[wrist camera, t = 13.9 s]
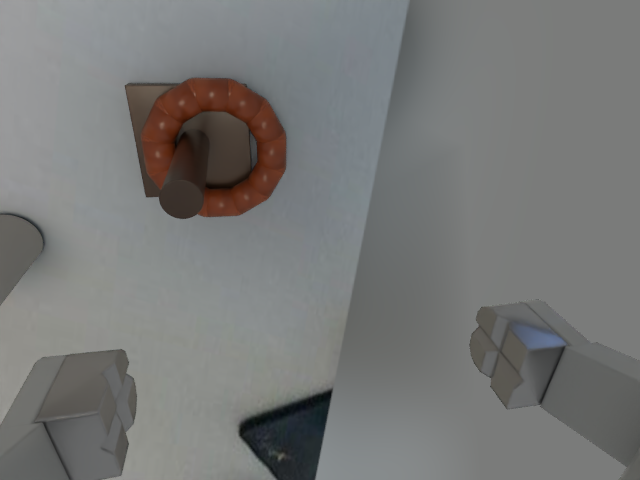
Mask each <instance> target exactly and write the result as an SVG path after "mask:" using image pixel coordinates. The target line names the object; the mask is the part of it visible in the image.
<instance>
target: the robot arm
mask: <svg viewBox="0 0 640 480" xmlns="http://www.w3.org/2000/svg"><path fill="white" fill-rule="evenodd" d="M476 321H477V323H478V324H479V327H478V328H477V329H476V330H475V331H474V332H473V333H472V335H471V340H470V352H471V356H472V359H473V361H474V364H475V365H476V367H477V368H478V370H479V371H480V372H481V373H483V374H485V375H486V376H488V377H490V378H491V386H490V387H491V388H492V389H493V391H494V392H495V393H496V395H497V396H498V398H499V399H500V400H501V402H502V403H503V404H504V406H505V407H506V409H513V408H521V407H528V406H535V405H541V406H540V407H541V408H543V409H544V410H546V411H547V412H548V413H550V414H551V415H553V416H554V417H556V418H557V419H558V420H560V421H561V422H563V423H564V424H566V425H567V426H569V427H570V428H571V429H573V430H574V431H576V432H577V433H579V434H580V435H581V436H583V437H584V438H586V439H587V440H589V441H590V442H592V443H593V444H595V445H596V446H598V447H599V448H600V449H602V450H603V451H605V452H606V453H607V454H609V455H610V456H612V457H613V458H615V459H616V460H618V461H619V462H621V463H622V464H623V465H625V466H626V467H627V468H626V469H625V471H624V472H623V474H622V475H621V477H620V479H619V480H640V361H639V360H637V359H635V358H632V357H630V356H628V355H625V354H623V353H621V352H618V351H616V350H614V349H611V348H609V347H607V346H604V345H601V344H599V343H597V342H596V343H590V342H589V341H588V340H587V339H586V338H585V337H584V336H583V335H581V334H580V333H579V332H578V331H577V330H576V329H575V328H574V327H572V326H571V325H570V324H569V323H568V322H567V321H566V320H565V319H563V318H562V317H561V316H560V315H559V314H558V313H557V312H556V311H554V310H553V309H552V308H551V307H550V306H549V305H548V304H546V302H544V301H541V300H539V299H536V300H529V301H521V302H518V303H517V302H516V303H508V304H500V305H492V306H484V307H481V309H480V310H479V311H478V313H477V316H476ZM128 365H129V361H128V358H127V355H126V352H125V351H124V350H122V349H119V350H108V351H98V352H87V353H77V354H70V355H61V356H51V357H42V358H41V359H40V360H38V361H37V362H36V363H35V364H34V366H33V368H32V370H31V372H30V373H29V375H28V377H27V379H26V380H25V382H24V384H23V386H22V388H21V389H20V391H19V393H18V395H17V396H16V398H15V400H14V402H13V404H12V405H11V407H10V409H9V411H8V412H7V414H6V416H5V418H4V420H3V421H2V423H1V425H0V480H102V479H107V478H112V477H117V476H121V475H122V470H123V466H124V462H125V458H126V454H127V449H128V445H129V443H128V440H127V436H126V433H125V432H126V431H127V430H128V429H129V428H130V427H131V426H132V425H133V424H134V419H135V414H136V404H137V394H136V386H135V382H134V378H133V377H131V376H130V375H128V374H127V373H126V372H127V368H128Z"/></svg>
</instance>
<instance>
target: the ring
mask: <svg viewBox="0 0 640 480" xmlns="http://www.w3.org/2000/svg"><path fill="white" fill-rule="evenodd" d="M201 112H227V113H229V114H230V115H232V116H234V117H236V118H237V119H239V120H241V121H243V122H245V123H246V125H247V126H248V128H249V129H250V131H251V133H252V134H253V136H254V137H255V139H256V141H257V163H256V165H255V167H254V168H253V170H252V172H251V174H250V175H249V177H248V178H247V179H246V180H244V181H242V182H240V183H239V184H237V185H235V186H234V187H232V188H220V189H209V188H207V187H205V195H204V204H203V207H202V209H201V211H200V212H199V213H198V215H200V216H203V217H221V216H238V215H241V214H243V213H245V212H247V211H248V210H250V209H252V208H254V207H255V206H257V205H259V204H260V203H262V202H264V201H266V200H267V199H268V198H269V197H270V196H271V194H272V192H273V191H274V189H275V187H276V186H277V184H278V182H279V181H280V179H281V177H282V175H283V174H284V172H285V170H286V133H285V130H284V128H283V127H282V125H281V123H280V121H279V120H278V118H277V116H276V114H275V113H274V111H273V109H272V107H271V106H270V104H269V102H268V101H267V100H266V99H265V98H263V97H262V96H260V95H258V94H257V93H255V92H253V91H252V90H250V89H249V88H247V87H245V86H244V85H242V84H240V83H239V82H237V81H235V80H233V79H228V78H190V79H188V80H186V81H184V82H183V83H181V84H179V85H178V86H176V87H174V88H173V89H171V90H170V91H168V92H166V93H165V94H163V95H161V96H160V97H158V98H157V99H156V101H155V102H154V105H153V107H152V109H151V111H150V114H149V116H148V118H147V120H146V123H145V125H144V127H143V129H142V132H141V143H142V149H143V155H144V161H145V167H146V171H147V174H148V175H149V177H150V178H151V179H152V180H153V181H154V183H155V184H156V185H157V186H158V188H159V189H160V190H161V188H162V186H163V183H164V180H165V177H166V175H167V172H168V169H169V166H170V164H171V161H172V158H173V155H174V153H175V150H176V149H175V140H176V138H177V136H178V134H179V132H180V130H181V127H182V125H183V123H185V122H186V121H188V120H190V119H191V118H193V117H195V116H196V115H198V114H200V113H201Z"/></svg>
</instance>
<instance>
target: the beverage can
mask: <svg viewBox="0 0 640 480" xmlns="http://www.w3.org/2000/svg"><path fill="white" fill-rule="evenodd" d="M42 249H43V239H42V237H41V235H40V233H39V231H38V230H37V229H36V228H35V227H34V226H33V225H32V224H31V223H29V222H28V221H26V220H24V219H22V218H20V217H16V216H12V215H0V305H1V304H2V303H3V301H4V300H5V299H6V297H7V296H8V295H9V294H10V292H11V291H12V290H13V288H14V287H15V286H16V284H17V283H18V282H19V280H20V279H21V278H22V276H23V275H24V274H25V272H26V271H27V270H28V269H29V267H30V266H31V265H32V263H33V262H34V261H35V260H36V258H37V257H38V256H39V254H40V253H41V252H42Z"/></svg>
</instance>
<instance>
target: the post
mask: <svg viewBox="0 0 640 480" xmlns="http://www.w3.org/2000/svg"><path fill="white" fill-rule="evenodd" d="M178 85H179V84H165V83H128V84H127V85H125V89H126V95H127V100H128V105H129V110H130V116H131V121H132V126H133V131H134V136H135V142H136V147H137V152H138V157H139V163H140V168H141V173H142V178H143V184H144V189H145V194H146V197H159V201H160V204H161V206H162V208H163V209H164V211H165V212H166V213H168V214H169V215H171V216H173V217H175V218H180V219H186V218H191V217H193V216H195V215H196V214H198V213H199V212H200V211H201V209H202V207H203V204H204V195H205V187H207V188H209V189H220V188H232V187H234V186H235V185H237V184H239V183H240V182H242V181H244V180H246V179H247V178H248V177H249V175H250V174H251V154H250V135H249V128H248V126H247V125H246V123H245V122H243V121H241V120H239V119H237V118H236V117H234V116H232V115H230V114H229V113H227V112H201V113H200V114H198V115H196V116H195V117H193V118H191V119H190V120H188V121H186V122H185V123H183V125H182V127H181V130H180V132H179V134H178V136H177V138H176V140H175V149H176V150H175V153H174V155H173V158H172V161H171V164H170V166H169V169H168V172H167V175H166V177H165V180H164V183H163V186H162V188H161V190H160V189H159V188H158V186H157V185H156V184H155V183H154V181H153V180H152V179H151V178H150V177H149V175H148V174H147V171H146V167H145V161H144V155H143V149H142V143H141V132H142V129H143V127H144V125H145V123H146V120H147V118H148V116H149V114H150V111H151V109H152V107H153V105H154V102H155V101H156V99H157V98H158V97H160V96H161V95H163V94H165V93H166V92H168V91H170V90H171V89H173V88H174V87H176V86H178ZM242 85H244V86H245V87H247V85H246V84H242Z"/></svg>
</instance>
